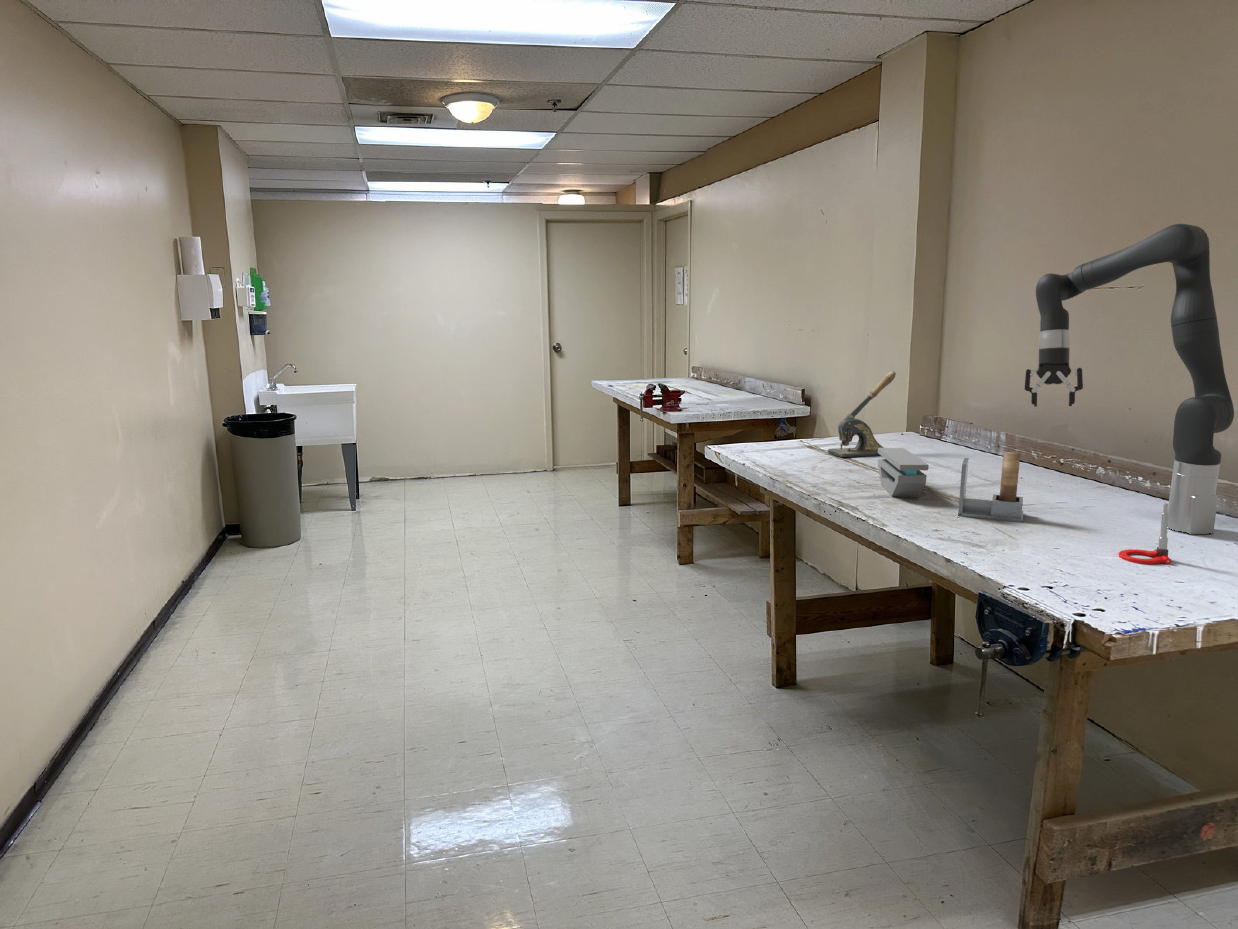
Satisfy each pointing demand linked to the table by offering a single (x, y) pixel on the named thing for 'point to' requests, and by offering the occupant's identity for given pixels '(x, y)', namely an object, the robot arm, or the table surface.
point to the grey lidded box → (901, 472)
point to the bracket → (987, 504)
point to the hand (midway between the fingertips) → (1052, 406)
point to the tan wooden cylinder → (1009, 476)
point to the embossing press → (860, 427)
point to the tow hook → (1158, 553)
